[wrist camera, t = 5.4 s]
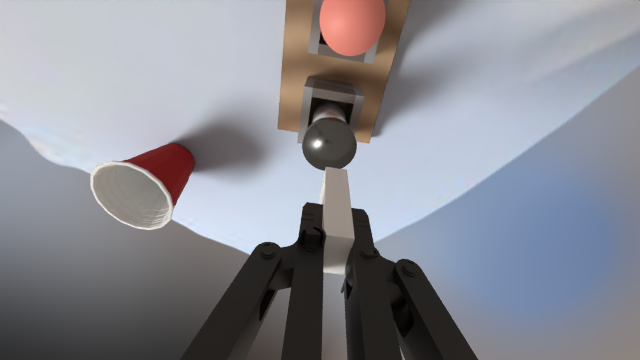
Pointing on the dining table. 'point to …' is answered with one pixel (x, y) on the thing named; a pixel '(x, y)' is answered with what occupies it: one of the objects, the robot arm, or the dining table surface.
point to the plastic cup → (143, 186)
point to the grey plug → (329, 138)
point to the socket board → (333, 70)
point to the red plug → (352, 24)
